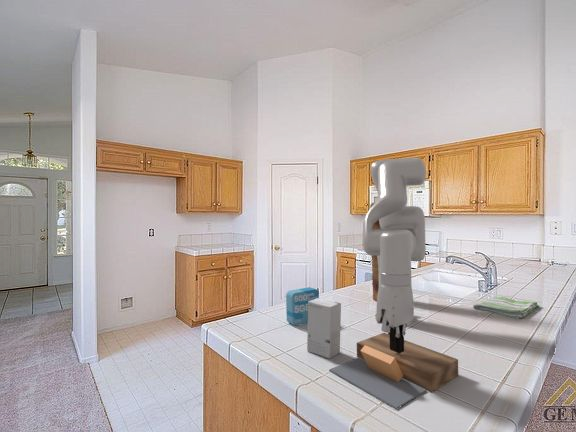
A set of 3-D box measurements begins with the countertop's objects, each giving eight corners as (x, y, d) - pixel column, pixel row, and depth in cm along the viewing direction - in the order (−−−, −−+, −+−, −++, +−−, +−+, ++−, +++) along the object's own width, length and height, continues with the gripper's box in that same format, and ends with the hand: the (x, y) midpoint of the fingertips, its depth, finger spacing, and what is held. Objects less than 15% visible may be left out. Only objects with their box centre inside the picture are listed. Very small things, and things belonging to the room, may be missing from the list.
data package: (292, 326, 112) (292, 293, 112) (286, 323, 116) (285, 291, 116) (319, 320, 119) (319, 288, 118) (312, 317, 122) (312, 286, 122)
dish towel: (471, 310, 128) (471, 301, 128) (493, 300, 143) (493, 292, 143) (522, 321, 115) (521, 311, 115) (540, 308, 129) (540, 300, 129)
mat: (358, 358, 87) (358, 357, 87) (426, 391, 70) (426, 389, 70) (329, 370, 80) (329, 369, 80) (396, 409, 64) (396, 407, 64)
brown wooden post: (375, 295, 152) (374, 203, 152) (397, 298, 146) (396, 202, 145) (367, 300, 144) (365, 202, 143) (390, 304, 137) (389, 201, 137)
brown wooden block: (384, 345, 95) (383, 332, 95) (458, 375, 77) (458, 359, 77) (356, 356, 88) (356, 342, 88) (431, 392, 70) (431, 374, 70)
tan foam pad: (372, 361, 82) (368, 367, 81) (364, 344, 80) (360, 350, 79) (403, 375, 75) (398, 382, 74) (394, 357, 73) (390, 364, 72)
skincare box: (306, 351, 92) (305, 301, 92) (318, 344, 96) (317, 296, 96) (331, 359, 86) (330, 306, 86) (342, 352, 91) (341, 301, 91)
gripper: (400, 273, 88) (401, 339, 88) (364, 281, 79) (366, 353, 79) (425, 277, 82) (426, 348, 82) (390, 286, 73) (391, 364, 73)
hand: (396, 350), depth 80 cm, fingers closed
